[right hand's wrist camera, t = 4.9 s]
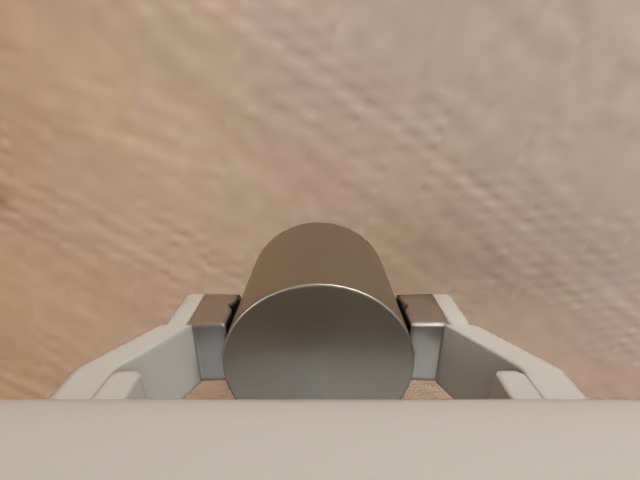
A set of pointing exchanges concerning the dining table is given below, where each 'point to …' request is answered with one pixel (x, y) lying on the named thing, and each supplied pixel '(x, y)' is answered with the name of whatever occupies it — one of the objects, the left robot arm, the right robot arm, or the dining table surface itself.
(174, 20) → the dining table surface
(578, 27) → the dining table surface
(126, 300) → the dining table surface
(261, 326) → the canister
